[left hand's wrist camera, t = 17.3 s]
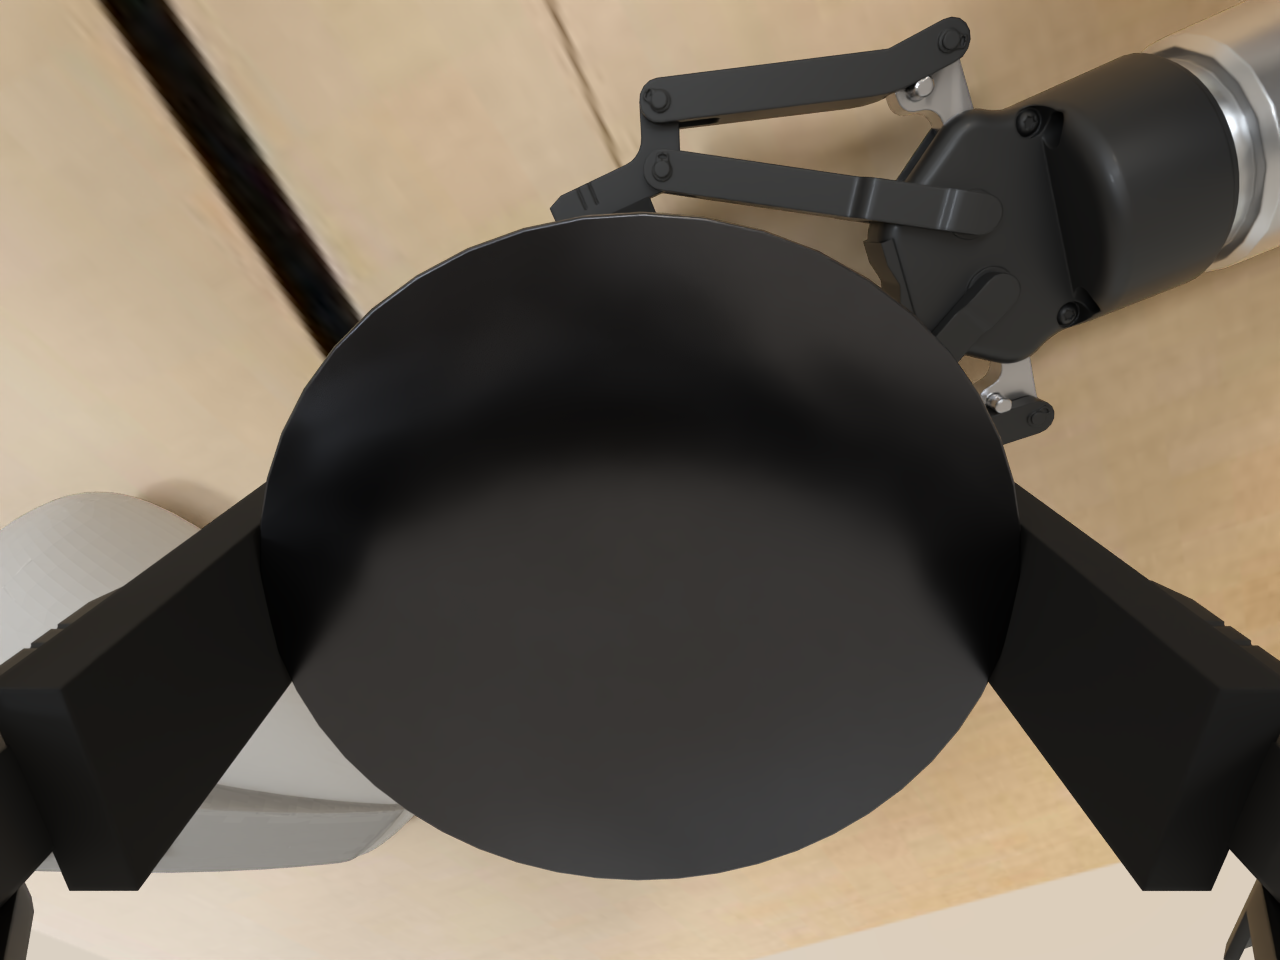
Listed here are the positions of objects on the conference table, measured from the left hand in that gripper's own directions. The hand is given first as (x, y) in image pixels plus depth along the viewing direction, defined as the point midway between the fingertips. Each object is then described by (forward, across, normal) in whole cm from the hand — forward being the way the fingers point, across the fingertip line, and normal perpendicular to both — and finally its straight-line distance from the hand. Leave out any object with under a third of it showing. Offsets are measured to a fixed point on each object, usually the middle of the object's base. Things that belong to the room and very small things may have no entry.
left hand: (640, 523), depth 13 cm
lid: (-3, 0, 0) cm, 3 cm away
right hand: (+13, -3, -2) cm, 13 cm away
